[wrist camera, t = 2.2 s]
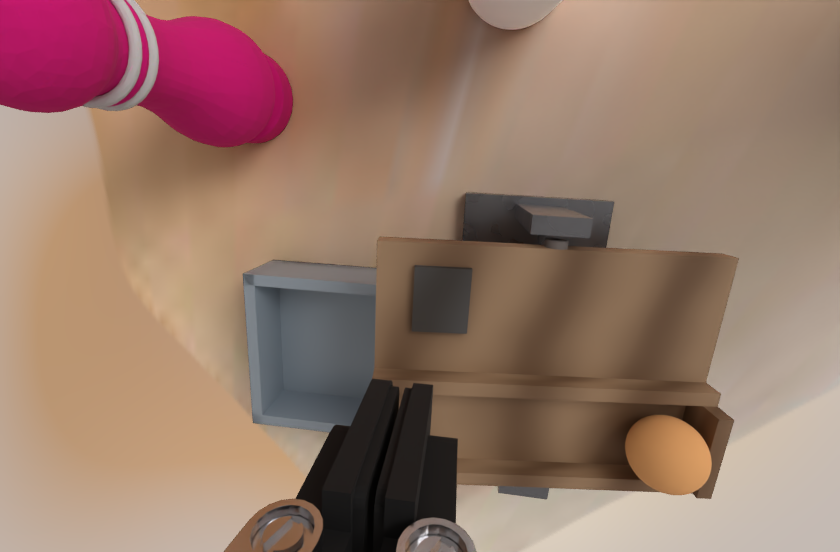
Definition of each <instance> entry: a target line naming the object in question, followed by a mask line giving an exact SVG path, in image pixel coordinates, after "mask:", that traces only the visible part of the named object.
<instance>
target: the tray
mask: <svg viewBox="0 0 840 552" xmlns="http://www.w3.org/2000/svg"><path fill="white" fill-rule="evenodd" d="M568 242H569V241H568V240H564V239H558V238H545V243H544V245H537V244H517V243H497V242H476V241H456V240H436V239H416V238H395V237H379V238H378V240H377V275H376V318H375V362H374V372H373V377H372V379H381V380H391V381H392V382H393V386H397V387H399V407H400V404H401V400H402V396H403V393H404V389H405V387H406V388H412V386H413V383H420V384H430V385H433V399H432V414H431V429H430V435H432V436H441V437H450V438H458V450H457V484H462V485H488V486H514V487H540V488H566V489H592V490H618V491H643V492H659V491H657V490H655V489H653V488H651V487H650V486H648V485H647V484H645V483H644V482H643V481H642V480H641V479H640V478H639V477H638V476H637V475H636V474H635V472H634V471H633V470H632V468H631V466H630V464H629V462H628V459H627V456H626V451H625V441H626V437H627V434H628V432H629V430H630V428H631V427H632V426H633V425H634V424H635V423H636V422H637V421H638V420H640V419H642V418H644V417H647V416H651V415H668V416H672V417H675V418H678V419H680V420H682V421H684V422H686V423H687V424H689V425H690V426H692V427H693V428H694V429H695V430H696V431H697V432H698V433H699V434H700V435H701V436H702V438H703V439H704V441H705V442H706V444H707V446H708V448H709V451H710V455H711V460H712V467H711V472H710V475H709V478H708V480H707V481H706V482H705V484H704V485H703V486H702V487H701V488H699V489H698V490H696V491H694V492H692V493H693V494H694V495H695V497H696V498H708V499H711V497H712V493H713V490H714V487H715V483H716V480H717V477H718V473H719V470H720V466H721V463H722V460H723V456H724V453H725V450H726V446H727V443H728V439H729V436H730V433H731V429H732V426H733V423H734V420H733V419H732V418H731V417H730V416H728V415H727V414H726V413H725V412H723V411H722V410H721V409H720V408H718V403H719V400H720V396H721V394H720V393H719V392H718V391H716V390H715V389H714V388H712V387H711V386H710V385H708V384H707V383H706V380H707V376H708V372H709V368H710V365H711V361H712V357H713V353H714V350H715V346H716V342H717V338H718V335H719V331H720V327H721V323H722V320H723V316H724V312H725V308H726V305H727V301H728V297H729V293H730V290H731V286H732V282H733V278H734V275H735V271H736V267H737V263H738V260H739V258H736V257H732V256H729V255H725V254H719V253H699V252H678V251H658V250H638V249H618V248H598V247H577V246H568Z"/></svg>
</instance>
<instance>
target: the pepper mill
mask: <svg viewBox="0 0 840 552" xmlns="http://www.w3.org/2000/svg"><path fill="white" fill-rule="evenodd" d="M0 105H4V106H7V107H11V108H15V109H19V110H24V111H30V112H44V113H51V112H63V111H66V110H69V109H73V108H76V107H80V106H84V107H89V108H99V109H103V110H107V111H120V110H126V109H129V108H132V107H134V106H136V105H138V106H142V107H144V108H146V109H148V110H150V111H152V112H153V113H155V114H156V115H157V116H159V117H160V118H161V119H162V120H163V121H164V122H166V123H167V124H168V125H169V126H170V127H172V128H173V129H174V130H176V131H177V132H179V133H181V134H183V135H185V136H187V137H188V138H190V139H192V140H194V141H197V142H201V143H204V144H208V145H212V146H217V147H234V146H239V145H242V144H244V143H263V142H266V141H269V140H272V139H273V138H275V137H276V136H278V135H279V134H280V133H281V132H282V131H283V130H284V128H285V127H286V125H287V123H288V121H289V119H290V116H291V113H292V106H293V97H292V91H291V87H290V84H289V81H288V78H287V76H286V74H285V73H284V71H283V70H282V68H281V67H280V66H279V65H278V64H277V63H276V62H275V61H274V60H273V59H272V58H270V57H269V56H267V55H265V54H264V53H263V52H262V51H261V49H260V48H259V47H258V46H257V45H256V43H255V42H254V41H253V40H252V39H251V38H250V37H248V36H247V35H246V34H245V33H243V32H242V31H240V30H239V29H237V28H235V27H233V26H231V25H228V24H226V23H224V22H221V21H219V20H216V19H212V18H207V17H197V16H189V17H182V18H177V19H173V20H168V21H166V20H160V19H156V18H154V17H151V16H148V15H146V14H145V13H144V11H143V10H142V9H141V7H140V6H139V5H138V4H137V3H136V2H135V1H134V0H0Z"/></svg>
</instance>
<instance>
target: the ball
mask: <svg viewBox="0 0 840 552" xmlns="http://www.w3.org/2000/svg"><path fill="white" fill-rule="evenodd" d="M625 451H626V456H627V459H628V462H629V464H630V466H631V468H632V470H633V471H634V472H635V474H636V475H637V476H638V477H639V478H640V479H641V480H642V481H643V482H644V483H645V484H647V485H648V486H650V487H651V488H653V489H655V490H657V491H659V492H662V493H666V494H670V495H685V494H689V493H692V492H694V491H696V490H698V489H699V488H701V487H702V486H703V485H704V484H705V482H706V481H707V480H708V478H709V475H710V472H711V467H712V460H711V455H710V451H709V448H708V446H707V444H706V442H705V441H704V439H703V438H702V436H701V435H700V434H699V433H698V432H697V431H696V430H695V429H694V428H693V427H692V426H690V425H689V424H687V423H686V422H684V421H682V420H680V419H678V418H675V417H672V416H668V415H651V416H647V417H644V418H642V419H640V420H638V421H637V422H636V423H635V424H634V425H633V426H632V427H631V428H630V430H629V432H628V434H627V437H626V441H625Z"/></svg>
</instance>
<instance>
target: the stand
mask: <svg viewBox="0 0 840 552" xmlns="http://www.w3.org/2000/svg"><path fill="white" fill-rule="evenodd" d="M613 205H614V202H613V201H607V200H590V199H573V198H556V197H538V196H521V195H504V194H487V193H470V192H466V202H465V214H464V227H463V239H462V241H476V242H497V243H517V244H537V245H544V243H545V238H558V239H564V240H568V241H569V242H568V246H577V247H598V248H606V245H607V239H608V234H609V228H610V222H611V217H612V211H613ZM548 491H549V488H540V487H514V486H498V493H504V494H511V495H519V496H526V497H534V498H541V499H547V497H548Z"/></svg>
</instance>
